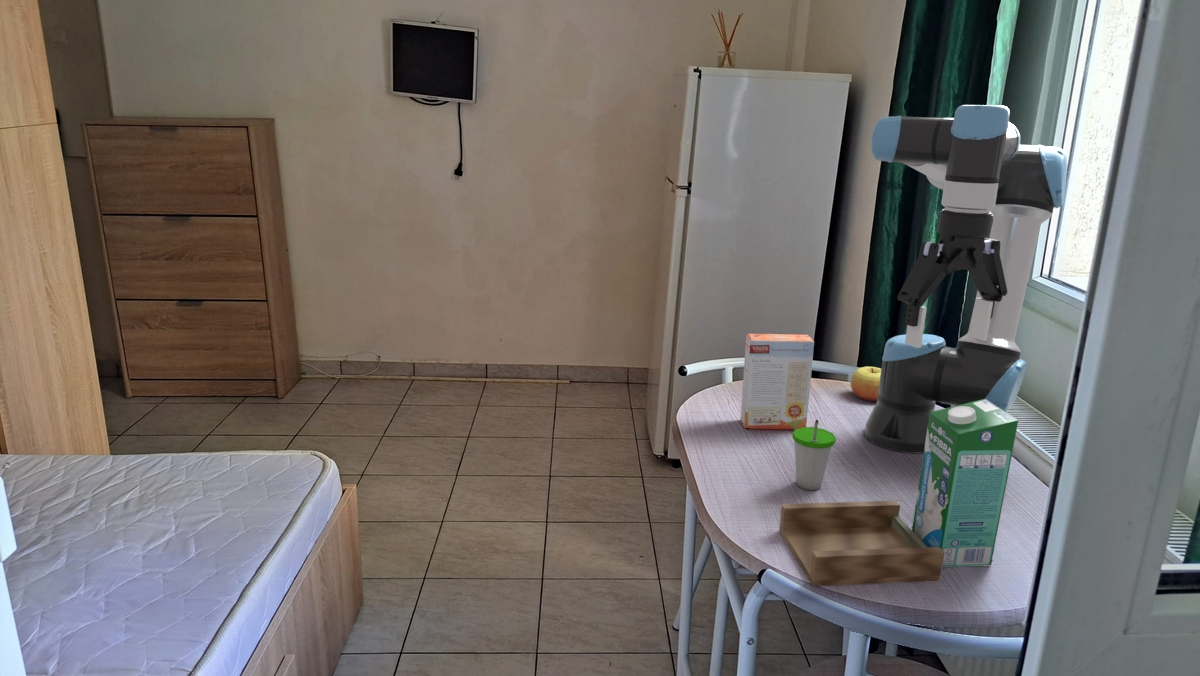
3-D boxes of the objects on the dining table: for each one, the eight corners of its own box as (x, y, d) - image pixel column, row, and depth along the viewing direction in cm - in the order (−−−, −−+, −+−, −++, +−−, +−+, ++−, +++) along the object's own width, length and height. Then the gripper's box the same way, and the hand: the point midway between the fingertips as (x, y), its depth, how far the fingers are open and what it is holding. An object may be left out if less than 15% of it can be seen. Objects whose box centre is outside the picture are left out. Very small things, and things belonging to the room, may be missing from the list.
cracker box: (800, 420, 179) (809, 333, 173) (806, 431, 174) (815, 341, 168) (739, 419, 179) (746, 331, 173) (743, 429, 174) (750, 339, 168)
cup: (801, 471, 154) (809, 400, 150) (837, 485, 149) (846, 412, 144) (779, 484, 149) (786, 411, 144) (816, 499, 143) (824, 423, 139)
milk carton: (910, 537, 131) (931, 398, 124) (961, 535, 132) (985, 397, 125) (936, 567, 123) (961, 420, 115) (991, 566, 123) (1019, 419, 116)
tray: (892, 526, 134) (895, 500, 133) (939, 581, 119) (944, 552, 118) (779, 530, 132) (781, 504, 131) (812, 586, 117) (816, 557, 116)
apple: (851, 403, 191) (855, 372, 189) (846, 389, 200) (850, 359, 198) (893, 406, 189) (898, 375, 187) (886, 392, 199) (890, 362, 196)
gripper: (1007, 204, 128) (985, 329, 134) (884, 208, 119) (867, 341, 125) (1047, 210, 121) (1023, 341, 127) (920, 214, 112) (901, 355, 118)
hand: (946, 342), depth 126 cm, fingers open, 13 cm apart
